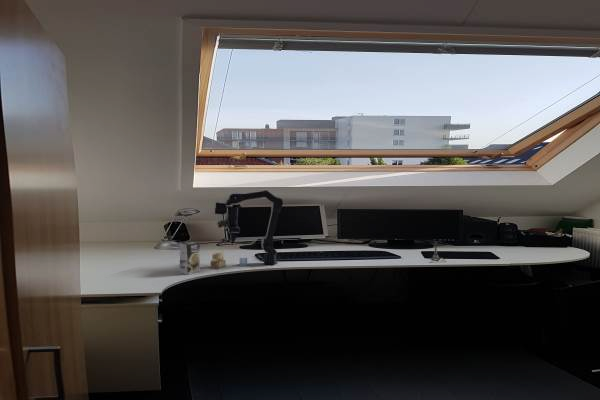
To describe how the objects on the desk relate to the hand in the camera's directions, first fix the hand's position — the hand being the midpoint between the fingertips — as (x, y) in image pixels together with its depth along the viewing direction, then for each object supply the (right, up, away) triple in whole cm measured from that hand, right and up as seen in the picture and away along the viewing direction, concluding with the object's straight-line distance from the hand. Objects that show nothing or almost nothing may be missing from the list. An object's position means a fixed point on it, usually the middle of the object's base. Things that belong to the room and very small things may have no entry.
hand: (230, 242), depth 250 cm
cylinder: (+7, -14, +3) cm, 16 cm away
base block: (-7, -14, -3) cm, 16 cm away
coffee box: (-20, -15, -14) cm, 29 cm away
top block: (-7, -10, -3) cm, 12 cm away
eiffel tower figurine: (+123, -14, +20) cm, 126 cm away
